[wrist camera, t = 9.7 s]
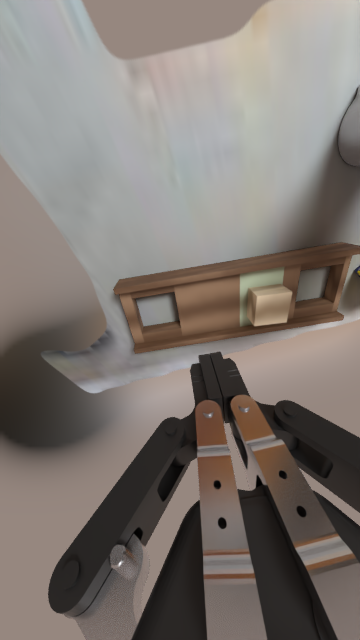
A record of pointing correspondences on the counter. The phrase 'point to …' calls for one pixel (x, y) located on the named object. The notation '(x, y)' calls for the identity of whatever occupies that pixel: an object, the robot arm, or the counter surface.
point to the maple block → (268, 304)
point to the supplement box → (357, 271)
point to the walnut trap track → (233, 296)
